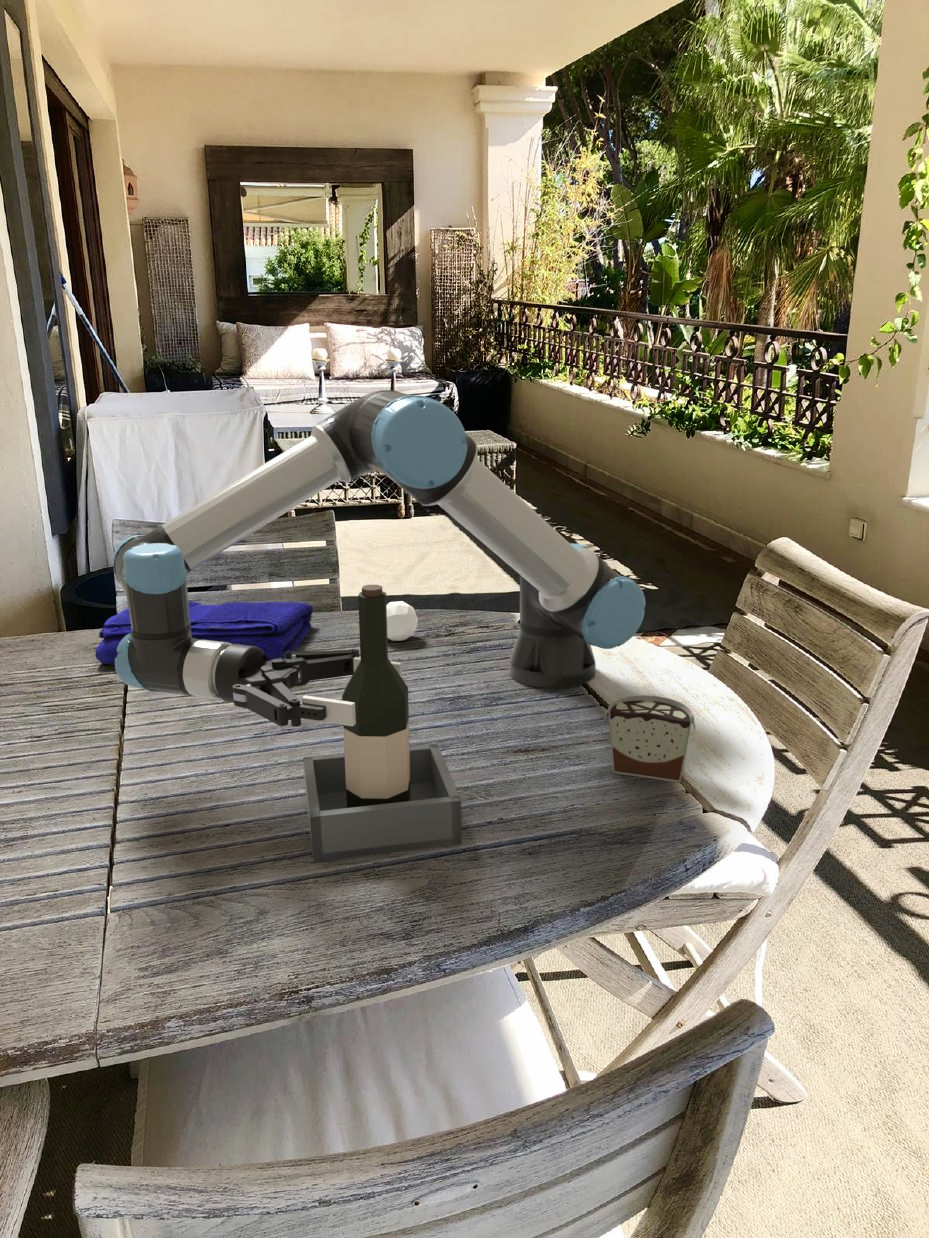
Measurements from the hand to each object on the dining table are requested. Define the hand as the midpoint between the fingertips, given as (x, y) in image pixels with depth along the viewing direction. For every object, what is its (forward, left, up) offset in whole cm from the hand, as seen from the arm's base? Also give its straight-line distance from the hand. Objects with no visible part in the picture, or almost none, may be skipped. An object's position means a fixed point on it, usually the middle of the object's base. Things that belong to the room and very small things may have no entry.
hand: (378, 692), depth 119 cm
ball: (-12, -69, -18) cm, 72 cm away
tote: (0, -1, -18) cm, 18 cm away
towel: (+24, -74, -18) cm, 80 cm away
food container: (-39, -7, -18) cm, 43 cm away
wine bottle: (+1, -1, -17) cm, 17 cm away
